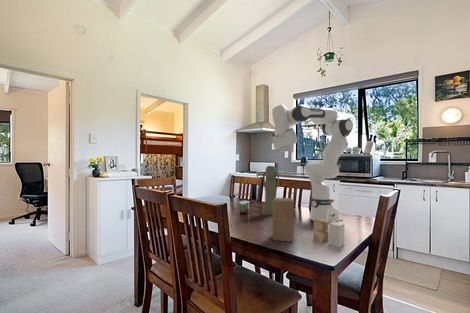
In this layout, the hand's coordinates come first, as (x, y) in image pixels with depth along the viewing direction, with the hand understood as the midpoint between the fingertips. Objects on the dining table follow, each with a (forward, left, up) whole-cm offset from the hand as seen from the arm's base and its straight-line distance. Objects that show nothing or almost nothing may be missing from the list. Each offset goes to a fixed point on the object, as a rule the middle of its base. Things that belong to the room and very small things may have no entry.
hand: (287, 153), depth 153 cm
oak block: (+1, +29, -44) cm, 52 cm away
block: (+17, +19, -44) cm, 51 cm away
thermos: (-9, -30, -44) cm, 54 cm away
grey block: (-1, +37, -44) cm, 57 cm away
